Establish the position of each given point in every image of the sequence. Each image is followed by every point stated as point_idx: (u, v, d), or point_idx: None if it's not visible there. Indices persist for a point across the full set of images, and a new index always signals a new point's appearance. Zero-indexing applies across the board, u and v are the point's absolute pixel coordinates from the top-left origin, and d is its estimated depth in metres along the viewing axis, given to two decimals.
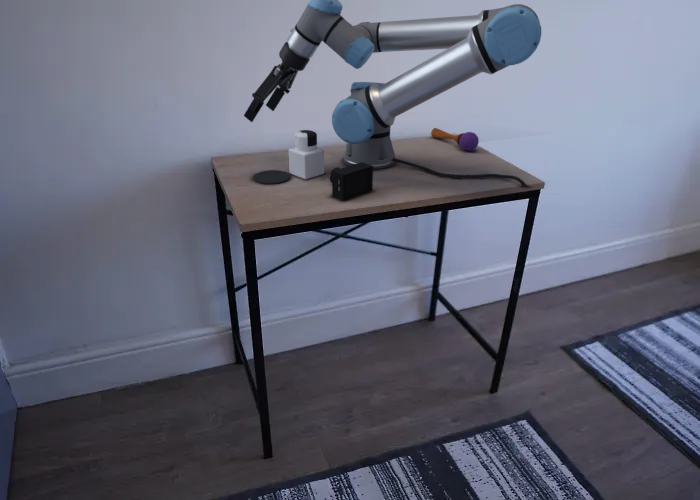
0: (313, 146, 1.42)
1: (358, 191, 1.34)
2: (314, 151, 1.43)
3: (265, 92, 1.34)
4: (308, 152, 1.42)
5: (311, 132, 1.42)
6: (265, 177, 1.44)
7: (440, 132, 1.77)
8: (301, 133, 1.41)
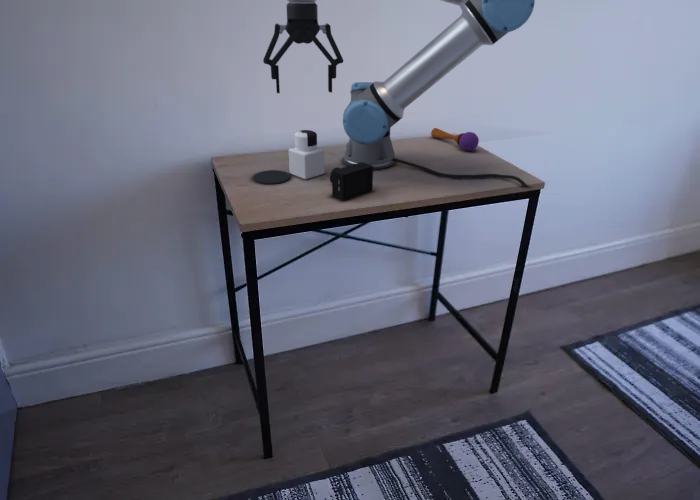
0: (313, 146, 1.42)
1: (358, 191, 1.34)
2: (314, 151, 1.43)
3: (267, 51, 1.31)
4: (308, 152, 1.42)
5: (311, 132, 1.42)
6: (265, 177, 1.44)
7: (440, 132, 1.77)
8: (301, 133, 1.41)
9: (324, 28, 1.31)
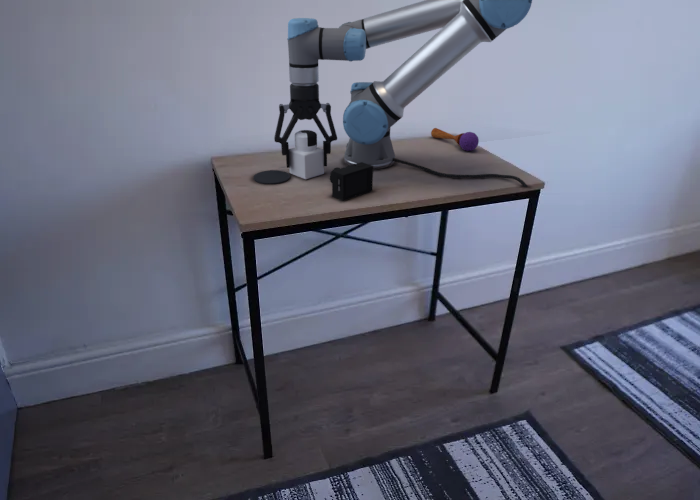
0: (313, 146, 1.42)
1: (358, 191, 1.34)
2: (314, 151, 1.43)
3: (276, 131, 1.40)
4: (308, 152, 1.42)
5: (311, 132, 1.42)
6: (265, 177, 1.44)
7: (440, 132, 1.77)
8: (301, 133, 1.41)
9: (325, 107, 1.40)
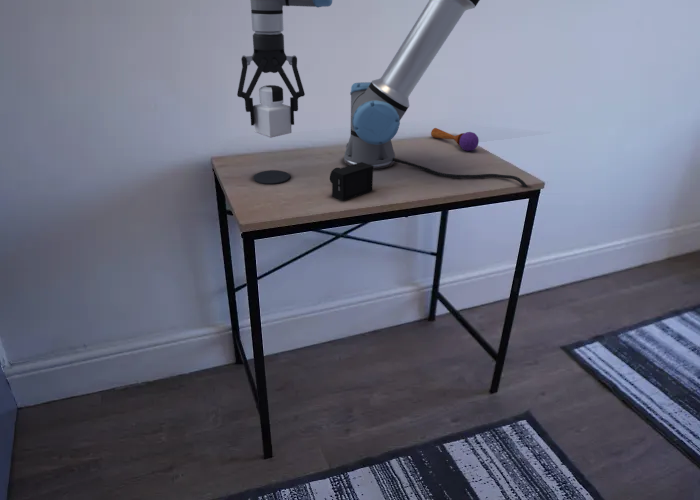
0: (278, 102, 1.34)
1: (358, 191, 1.34)
2: (280, 107, 1.35)
3: (239, 84, 1.32)
4: (273, 108, 1.33)
5: (276, 87, 1.34)
6: (265, 177, 1.44)
7: (440, 132, 1.77)
8: (266, 87, 1.33)
9: (291, 60, 1.31)
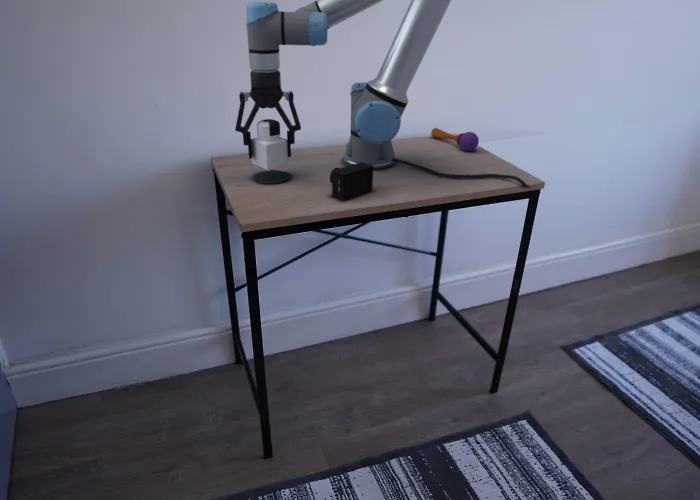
0: (275, 136, 1.37)
1: (358, 191, 1.34)
2: (277, 141, 1.38)
3: (237, 119, 1.36)
4: (270, 142, 1.37)
5: (274, 121, 1.37)
6: (265, 177, 1.44)
7: (440, 132, 1.77)
8: (263, 122, 1.36)
9: (287, 95, 1.35)
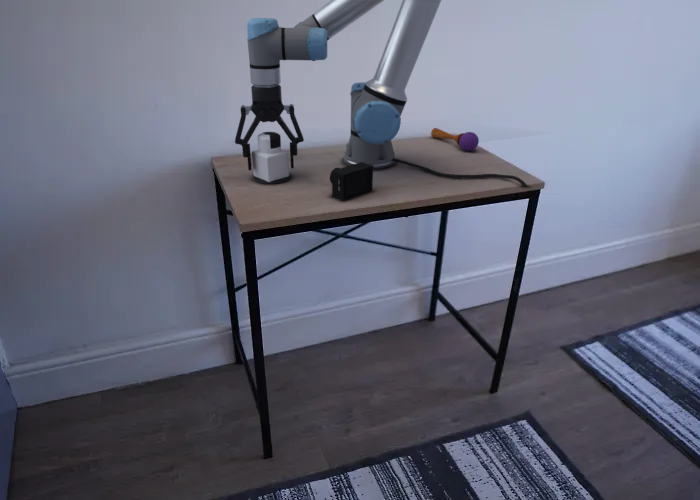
0: (276, 148, 1.39)
1: (358, 191, 1.34)
2: (277, 153, 1.40)
3: (237, 132, 1.37)
4: (271, 154, 1.39)
5: (274, 134, 1.39)
6: None
7: (440, 132, 1.77)
8: (264, 135, 1.38)
9: (288, 109, 1.37)
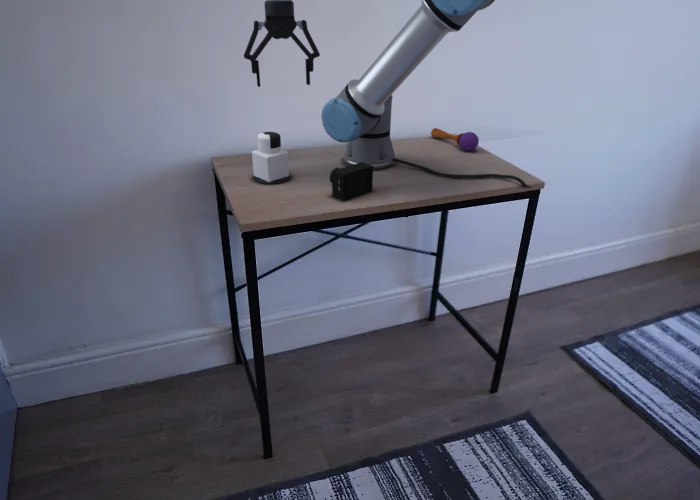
0: (276, 148, 1.39)
1: (358, 191, 1.34)
2: (277, 153, 1.40)
3: (247, 46, 1.38)
4: (271, 154, 1.39)
5: (274, 134, 1.39)
6: None
7: (440, 132, 1.77)
8: (264, 135, 1.38)
9: (301, 24, 1.39)
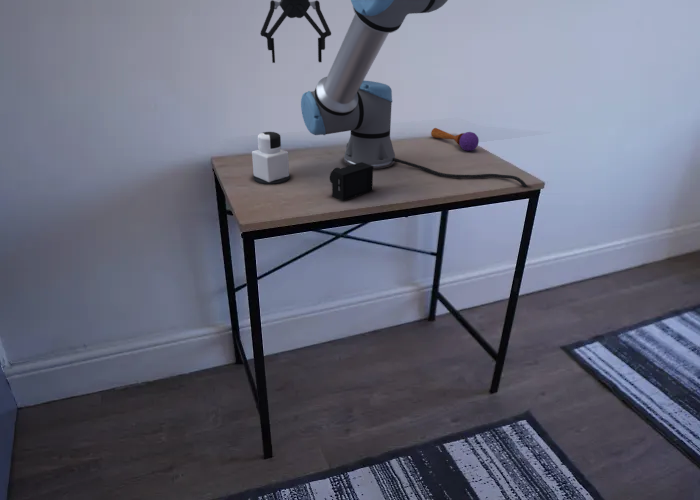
0: (276, 148, 1.39)
1: (358, 191, 1.34)
2: (277, 153, 1.40)
3: None
4: (271, 154, 1.39)
5: (274, 134, 1.39)
6: None
7: (440, 132, 1.77)
8: (264, 135, 1.38)
9: (314, 4, 1.48)
